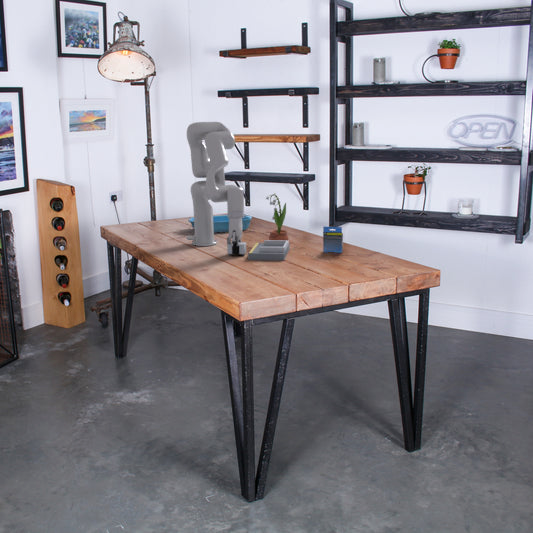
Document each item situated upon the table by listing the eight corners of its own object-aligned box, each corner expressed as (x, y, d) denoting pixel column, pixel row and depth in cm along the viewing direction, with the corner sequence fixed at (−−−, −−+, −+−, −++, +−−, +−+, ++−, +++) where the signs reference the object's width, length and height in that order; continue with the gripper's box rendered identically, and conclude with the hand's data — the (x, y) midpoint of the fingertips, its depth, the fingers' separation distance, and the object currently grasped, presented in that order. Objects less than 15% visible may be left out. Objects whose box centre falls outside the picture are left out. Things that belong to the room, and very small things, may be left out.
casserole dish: (244, 224, 379) (243, 212, 377) (258, 230, 359) (258, 217, 357) (183, 229, 365) (183, 217, 363) (195, 236, 345) (194, 223, 343)
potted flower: (261, 243, 322) (260, 193, 317) (271, 239, 331) (270, 191, 325) (283, 245, 317) (282, 194, 311) (291, 241, 326) (291, 192, 320)
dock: (248, 259, 287) (248, 249, 285) (256, 248, 310) (256, 238, 308) (283, 260, 284) (283, 249, 283) (289, 249, 307) (289, 238, 306)
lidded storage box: (227, 255, 295) (226, 237, 293) (229, 253, 300) (229, 235, 298) (244, 256, 294) (244, 237, 292) (246, 253, 299) (245, 235, 297)
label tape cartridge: (343, 251, 300) (343, 225, 298) (341, 253, 297) (342, 227, 294) (324, 250, 303) (324, 225, 300) (322, 252, 299) (323, 226, 296)
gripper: (231, 211, 301) (232, 249, 306) (224, 217, 285) (225, 257, 289) (247, 211, 300) (247, 249, 305) (240, 217, 284) (241, 257, 288)
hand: (236, 252), depth 297 cm, fingers closed on lidded storage box, 5 cm apart
